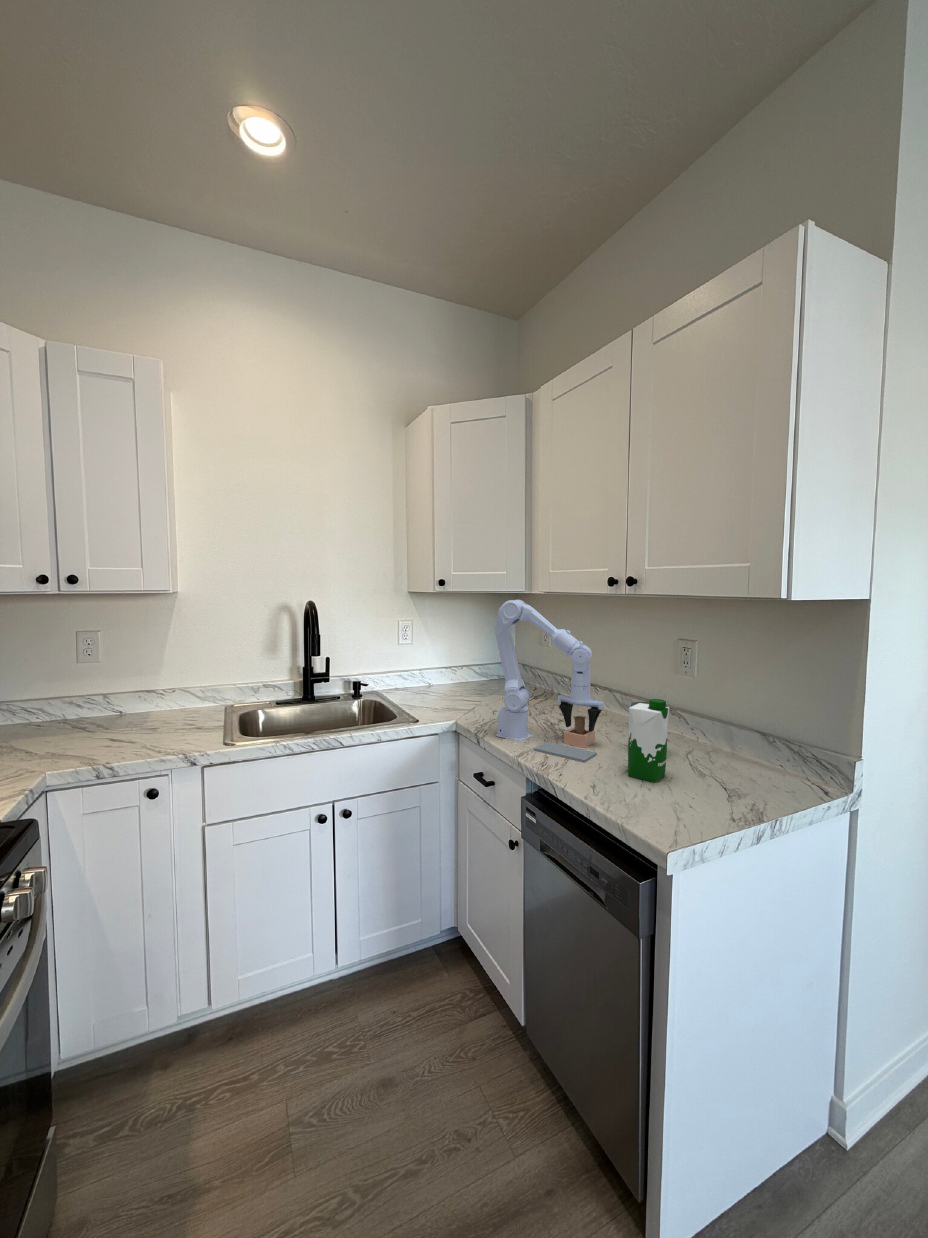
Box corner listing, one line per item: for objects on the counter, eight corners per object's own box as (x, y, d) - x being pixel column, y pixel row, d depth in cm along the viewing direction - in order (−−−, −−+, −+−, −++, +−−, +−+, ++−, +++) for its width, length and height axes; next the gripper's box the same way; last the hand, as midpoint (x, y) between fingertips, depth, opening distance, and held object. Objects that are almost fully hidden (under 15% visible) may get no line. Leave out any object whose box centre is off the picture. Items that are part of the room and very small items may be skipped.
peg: (572, 743, 158) (573, 717, 158) (576, 740, 161) (577, 715, 160) (581, 745, 157) (582, 719, 156) (585, 742, 159) (586, 717, 158)
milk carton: (658, 785, 127) (661, 705, 126) (622, 776, 133) (625, 699, 131) (669, 775, 134) (672, 699, 132) (635, 767, 139) (637, 694, 138)
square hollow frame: (563, 744, 158) (564, 732, 158) (573, 739, 164) (574, 727, 163) (584, 749, 154) (585, 736, 154) (594, 744, 159) (595, 731, 159)
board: (533, 752, 151) (533, 748, 151) (547, 745, 157) (547, 741, 157) (584, 764, 141) (584, 760, 141) (596, 757, 147) (596, 752, 147)
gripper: (608, 686, 156) (607, 730, 157) (565, 680, 165) (564, 722, 166) (599, 689, 151) (597, 735, 152) (554, 683, 160) (553, 726, 161)
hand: (579, 728), depth 158 cm, fingers open, 7 cm apart
